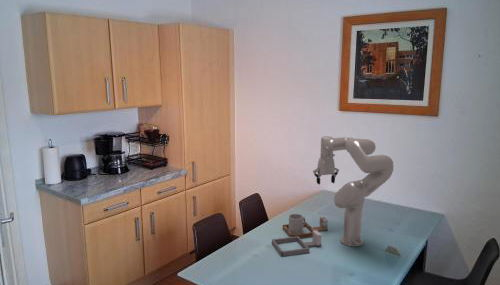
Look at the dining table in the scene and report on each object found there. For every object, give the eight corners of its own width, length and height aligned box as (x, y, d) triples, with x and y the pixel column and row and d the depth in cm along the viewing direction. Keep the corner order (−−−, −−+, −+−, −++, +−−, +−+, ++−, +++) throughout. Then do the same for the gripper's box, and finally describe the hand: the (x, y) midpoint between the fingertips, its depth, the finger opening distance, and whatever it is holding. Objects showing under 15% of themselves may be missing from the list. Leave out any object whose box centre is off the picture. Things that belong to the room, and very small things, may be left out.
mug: (295, 237, 221) (295, 220, 219) (285, 232, 227) (285, 215, 225) (309, 232, 228) (310, 215, 226) (299, 228, 234) (300, 211, 232)
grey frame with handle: (326, 250, 204) (326, 238, 203) (281, 256, 198) (281, 243, 196) (313, 238, 219) (314, 226, 218) (271, 243, 213) (272, 231, 212)
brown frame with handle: (332, 234, 225) (332, 223, 223) (291, 239, 218) (292, 227, 217) (320, 224, 240) (321, 213, 239) (282, 228, 233) (282, 217, 232)
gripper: (336, 154, 235) (335, 180, 238) (311, 156, 230) (310, 182, 233) (342, 156, 228) (341, 183, 231) (316, 158, 223) (315, 186, 226)
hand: (325, 183), depth 232 cm, fingers open, 9 cm apart
